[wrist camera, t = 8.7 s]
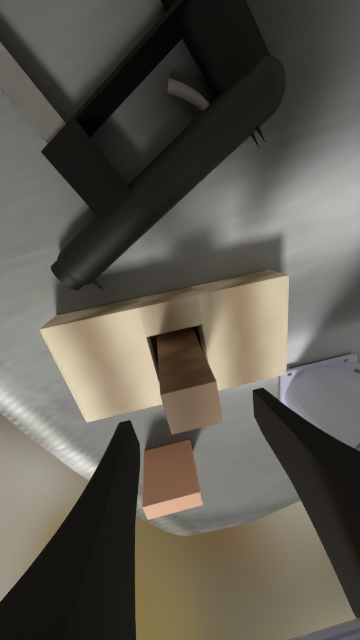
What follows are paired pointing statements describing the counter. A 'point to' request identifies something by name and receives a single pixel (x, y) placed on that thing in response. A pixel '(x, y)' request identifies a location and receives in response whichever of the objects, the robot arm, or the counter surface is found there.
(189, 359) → the walnut peg
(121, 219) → the door handle
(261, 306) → the socket block
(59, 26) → the counter surface
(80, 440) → the counter surface
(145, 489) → the salmon brown flat block
